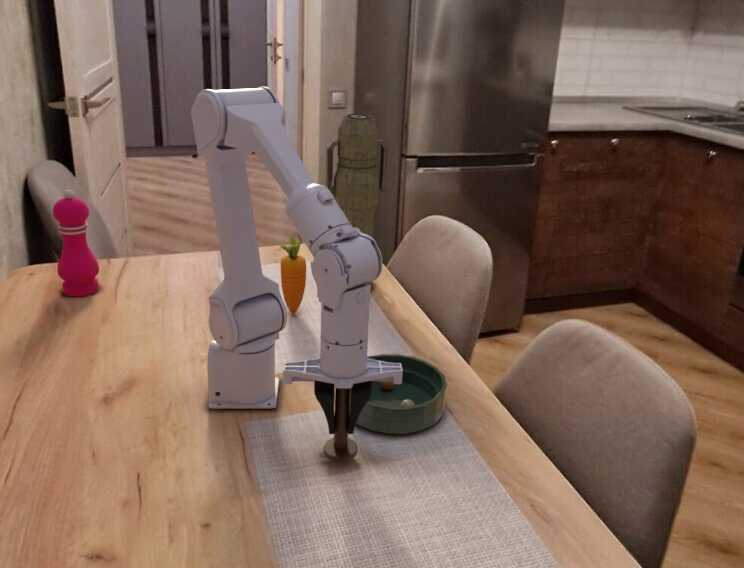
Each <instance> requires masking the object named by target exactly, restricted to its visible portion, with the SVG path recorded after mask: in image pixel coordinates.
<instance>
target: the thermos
mask: <svg viewBox="0 0 744 568" xmlns="http://www.w3.org/2000/svg"><path fill="white" fill-rule="evenodd" d="M378 134H379V133H378V128H377V125H376V121H375V118H374V117H372V116H371V115H368V114H363V113H349V114H346V115H344V116H342V118H341V121H340V124H339V126H338V130H337V138H336V139H334V140H331V141H330V143H329V144H328V145H327V146H326V159H325V160H326V161H325V162H326V163H325V164H326V165H325V186H326V187H327V188H328V190H329V191H330V192H331V194H332V195H333V197H334V199H335V200H336V202H337V204H338V205H339V207H340V208H341V210H342V211H343V213H344V214H345V216H346V218H347V219H348V221H349V222H350V224H351V225H352V227H354V228H355V227H356V228H357V229H358V228H359V230H360V231H361V232H362V233H364V234H367V235H369V236H371V237H372V238H373V239H374V229H375V227H374V225H375V210H376V208H377V206H378V197H379V196H380V194H382V193H385V190H386V184H387V166H388V149H389V148H388V146H387V145H386V142H384V141H383V140H382V139H378V137H379V135H378ZM336 147H337V154H336V155H337V157H338V158H337V159H338V160H337V163H336V170H335V172H334V150H335V148H336ZM378 148H380V160H379V177H378V173H377V164H376V159H377V154H378ZM333 174H334V175H333ZM367 284H371V289H372V288H373V281H372V282H370V283H367Z"/></svg>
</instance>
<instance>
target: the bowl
mask: <svg viewBox="0 0 744 568" xmlns="http://www.w3.org/2000/svg"><path fill="white" fill-rule="evenodd" d="M367 358H368V359H373V360H379V361H384V362H390V363H401V365H402V370H403V374H402V384H395V385H394V387H393V388H392V389H391V390H384V389H383V388H382V387H381V385H380V381H372V394H371V397H370V399H369V400H368V401H367V403H366V404H365V406H364V407H363V409H362V411H361V413H360V415H359V417H358V419H357V422H356V425H358V426H361V427H362V428H365V429H367V430H371V431H373V432H378V433H379V432H380V433H384V434H393V435H394V434H411V433H415V432H420V431H422V430H425V429H427V428H430V427H431V426H434V425H436V423H437V422H438V421H440V419H441V418H442V417H443V415H444V412H445V408H446V398H447V389H448V382H447V380H446V376H445V375H444V373H443V372H442V371H441V370H440V369H439V368H438V367H437V366H435V365H434V364H432V363H430V362H429V361H426V360H423V359H421V358H418V357H415V356H411V355H404V354H397V353H380V354H373V355H367ZM406 399H410V400H412V401H413V402H414V403H415V405H414V406H408V407H400V405H401V403H402V401H404V400H406ZM349 404H350V402H349Z"/></svg>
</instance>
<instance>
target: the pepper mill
mask: <svg viewBox="0 0 744 568" xmlns="http://www.w3.org/2000/svg"><path fill="white" fill-rule="evenodd" d="M52 214H53V218H54V219H55V220H56V221H57V222H58V224H57V227H58V232H59V234H61V238H62V251H61V254H60V256H59V259H58V262H57V275H58V277H59V278H60V279H61V280H63V281H62V283H61V286H62V293H63V294H64V295H66V296H69V297H87V296H90V295H92V294H95V293H97V292H98V291H99V289H100V287H99V280H98V278H96V277H97V276H98V274H99V272H100V265H99V262H98V259H97V258H96V256H95V254H94V253H93V251H92V250H91V248H90V246H89V244H88V240H87V231H89V227H88V225H89V224H88V222H87V219H88V218H89V216H90V209H89V206H88V204H87V203H86V202H85V201H84V200H83V199H81V198H79V197H75V191H73V190H72V189H66V190H64V192H63V198H60V199H58V200H57V201H56V202H55V204H54V205H53V208H52Z"/></svg>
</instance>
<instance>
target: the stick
mask: <svg viewBox="0 0 744 568" xmlns="http://www.w3.org/2000/svg"><path fill="white" fill-rule="evenodd" d="M334 392H335V398H334V415H335V434H333V437H331V438H329V439H327V440H326V441H325V442H324V444H323V449H322V450H323V451H322V452H323V455H324V457H325V458H326V459H328V460H329V461H332V462H335V463H347V462H350V461H352V460H354V459H355V458H356V457H357V455H358V450H359V449H358V443H357V442H356V441H355V440H354V439H353V438H350V437H349V434H348V422H349V402H350V388H336V387H335V389H334Z"/></svg>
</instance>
